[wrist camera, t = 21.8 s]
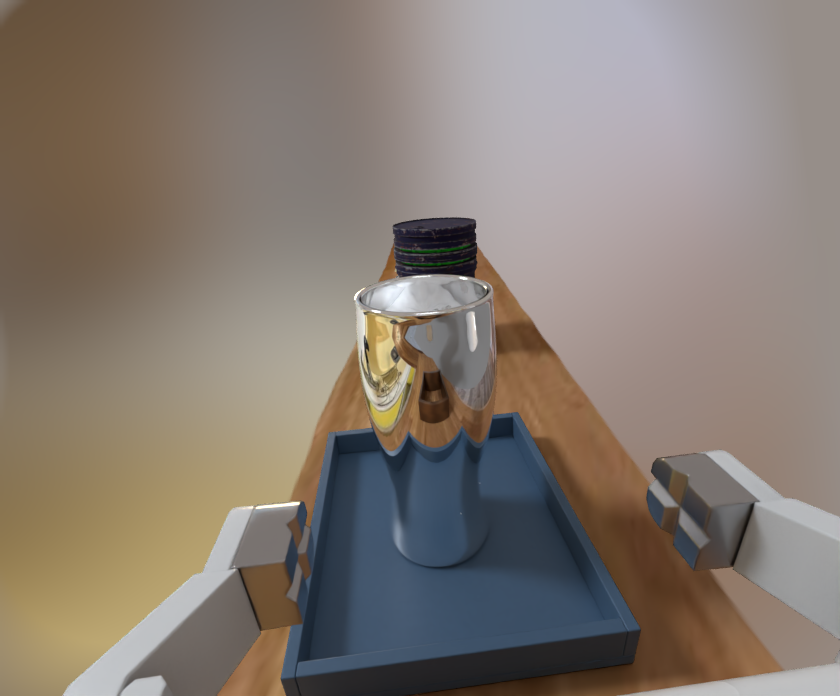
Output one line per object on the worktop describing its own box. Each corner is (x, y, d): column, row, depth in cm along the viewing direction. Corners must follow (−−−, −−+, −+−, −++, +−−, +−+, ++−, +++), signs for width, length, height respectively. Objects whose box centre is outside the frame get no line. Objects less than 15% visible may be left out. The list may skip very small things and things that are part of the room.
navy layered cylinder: (431, 323, 60) (425, 216, 54) (492, 335, 54) (492, 217, 48) (386, 348, 53) (373, 228, 47) (450, 364, 47) (445, 231, 41)
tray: (517, 436, 34) (517, 411, 33) (633, 663, 18) (641, 629, 17) (333, 456, 33) (328, 432, 32) (291, 712, 18) (279, 679, 17)
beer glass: (364, 561, 23) (322, 312, 17) (403, 478, 30) (381, 272, 23) (487, 588, 22) (487, 318, 15) (501, 493, 28) (505, 272, 22)
